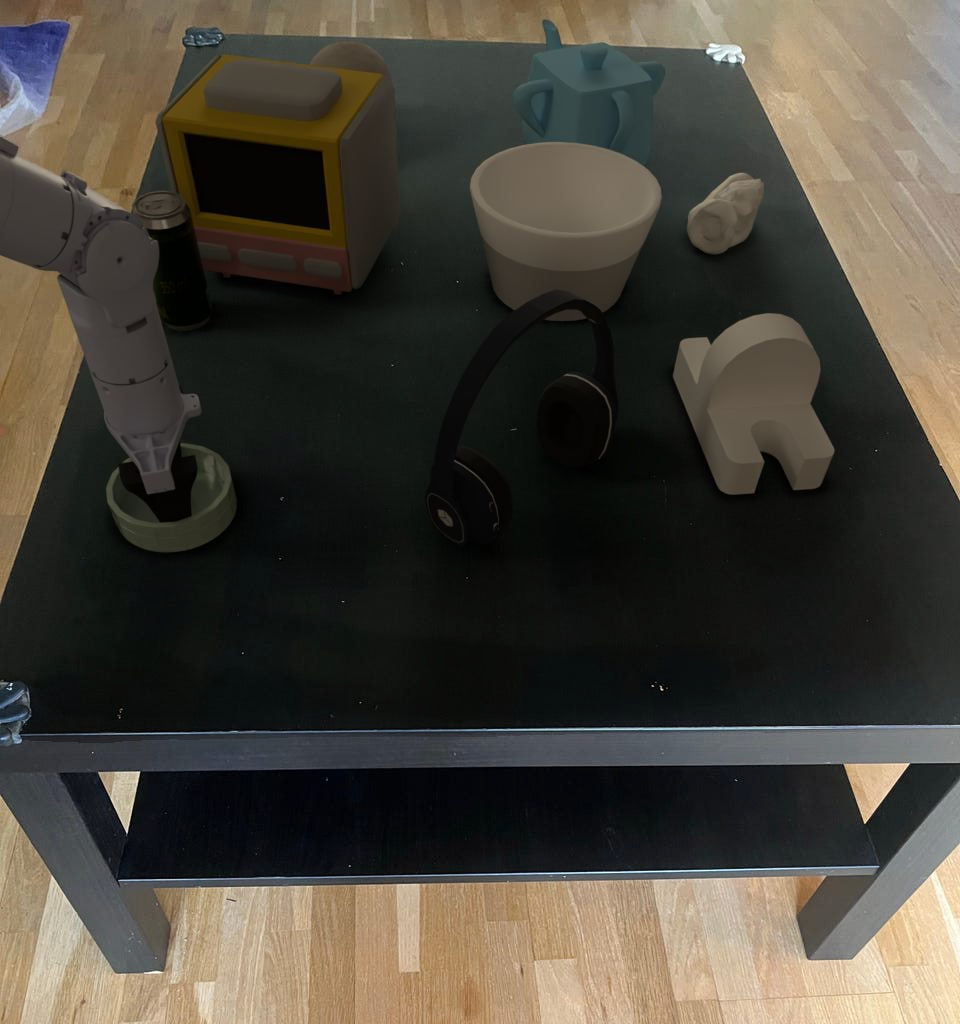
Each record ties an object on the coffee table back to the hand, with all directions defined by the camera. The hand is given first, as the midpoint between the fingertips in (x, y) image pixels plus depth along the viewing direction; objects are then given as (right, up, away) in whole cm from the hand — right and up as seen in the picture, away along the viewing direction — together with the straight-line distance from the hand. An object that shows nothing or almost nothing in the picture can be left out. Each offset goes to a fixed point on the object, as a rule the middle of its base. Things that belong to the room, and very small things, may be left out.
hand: (173, 498), depth 80 cm
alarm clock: (+5, +30, +26) cm, 40 cm away
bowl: (+34, +27, +24) cm, 49 cm away
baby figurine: (+53, +35, +32) cm, 71 cm away
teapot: (+38, +49, +42) cm, 75 cm away
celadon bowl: (0, -1, +2) cm, 2 cm away
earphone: (+29, +1, +4) cm, 30 cm away
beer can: (-5, +21, +19) cm, 29 cm away
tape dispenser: (+50, +8, +10) cm, 52 cm away
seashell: (+8, +52, +44) cm, 69 cm away
